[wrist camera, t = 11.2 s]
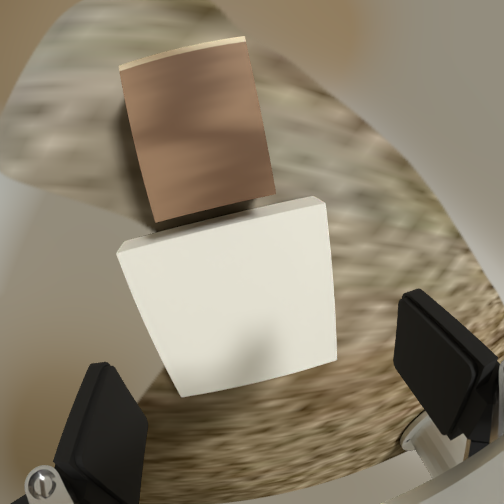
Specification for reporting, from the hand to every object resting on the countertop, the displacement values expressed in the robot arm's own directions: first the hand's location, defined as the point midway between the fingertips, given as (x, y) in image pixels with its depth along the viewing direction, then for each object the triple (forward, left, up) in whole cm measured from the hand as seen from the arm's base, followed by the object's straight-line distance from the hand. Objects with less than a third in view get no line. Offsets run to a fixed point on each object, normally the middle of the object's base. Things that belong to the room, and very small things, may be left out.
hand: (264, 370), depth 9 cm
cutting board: (0, +4, -11) cm, 12 cm away
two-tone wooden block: (0, -3, -9) cm, 10 cm away
